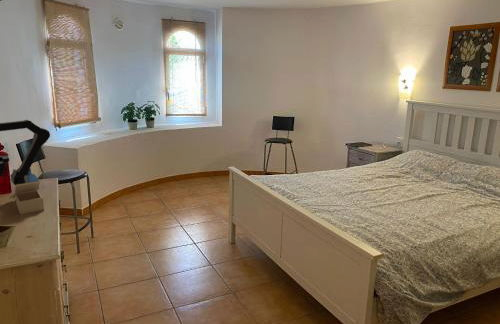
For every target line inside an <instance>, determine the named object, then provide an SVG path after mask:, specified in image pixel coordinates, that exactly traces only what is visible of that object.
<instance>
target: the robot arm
mask: <svg viewBox="0 0 500 324" xmlns="http://www.w3.org/2000/svg"><path fill="white" fill-rule="evenodd" d="M23 129H24V130H25V129H27V130H29V131H30V132H31V133H33V136H32V143H31V145H30V147H29V148H28V150H27V152H26V153H25V156H24V158H23V160H22V162H21V164H20V166H19V168H17V169H14V168H13V170H12V173H11V174H10V175H9V177H10V179H9V180H10V182H11V184H12V185H14V186H15V185H18V184H24V183H25V179H24V176H25V175H28V171H29V169H31V167H32V165H33V163H34V161H35V159H36V157H37V155H38V153H39V151H40V150H41V147H43V145H45V144H46V143H47V142H48V140H49V139H50V137H51V134H50V131H49V130H48V129H45V128H44V127H43V128H42V127H40V126H38V125H36V124H35V123H33V122H32V121H31V120H29V119H25V120H16V121H7V122H0V132H4V131H5V132H6V131H7V132H8V131H15V130H23ZM8 162H10V158H9V156H8V155H0V178H1V177H2V175H3V173H4V171H5V169H6V166H7V164H8ZM29 192H30V191H29ZM23 193H24V192H23ZM17 194H18V193H17Z"/></svg>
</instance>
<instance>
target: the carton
mask: <svg viewBox="0 0 500 324" xmlns="http://www.w3.org/2000/svg"><path fill="white" fill-rule="evenodd" d="M14 197H15V204H16V208H17V210H18V213H19V215H20V216H22V215H27V214H28V215H29V214H31V213H38V212H43V211H45V205H44V198H43V196H42V195H41V193H40V192H39V189H38V190H36V191H30V192H24V193H18V194H15V193H14Z"/></svg>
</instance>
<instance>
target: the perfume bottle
mask: <svg viewBox="0 0 500 324" xmlns="http://www.w3.org/2000/svg"><path fill="white" fill-rule="evenodd" d="M28 180H29V183H31V182H37V181H39V177H38V176H36V174H35V173H33V172H32V169H31V168H30V169H29V171H28ZM39 189H40V187H39V188H38V190H39Z"/></svg>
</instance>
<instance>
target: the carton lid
mask: <svg viewBox="0 0 500 324" xmlns="http://www.w3.org/2000/svg"><path fill="white" fill-rule="evenodd" d="M24 179H25V183H24V184H18V185H14V186H15V187H14V195H15V194H17V193H23V192H29V191H36V190H38V191H39V189H40V183H41V181H40V180H38V181H37V182H31V183H29V180H28V175H25V176H24ZM38 188H39V189H38Z"/></svg>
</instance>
